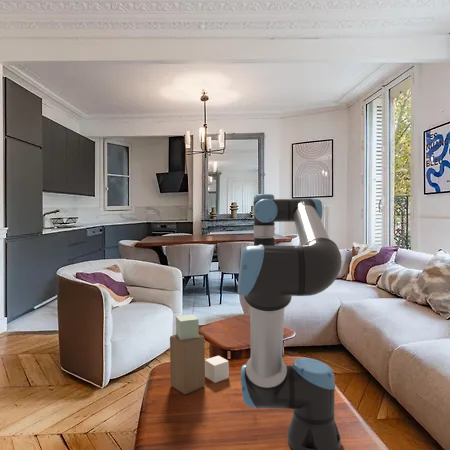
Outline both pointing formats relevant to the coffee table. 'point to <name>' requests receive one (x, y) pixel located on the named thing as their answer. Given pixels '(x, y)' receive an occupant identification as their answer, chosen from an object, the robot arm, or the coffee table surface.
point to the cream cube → (216, 369)
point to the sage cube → (187, 326)
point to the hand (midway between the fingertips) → (264, 295)
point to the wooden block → (187, 363)
